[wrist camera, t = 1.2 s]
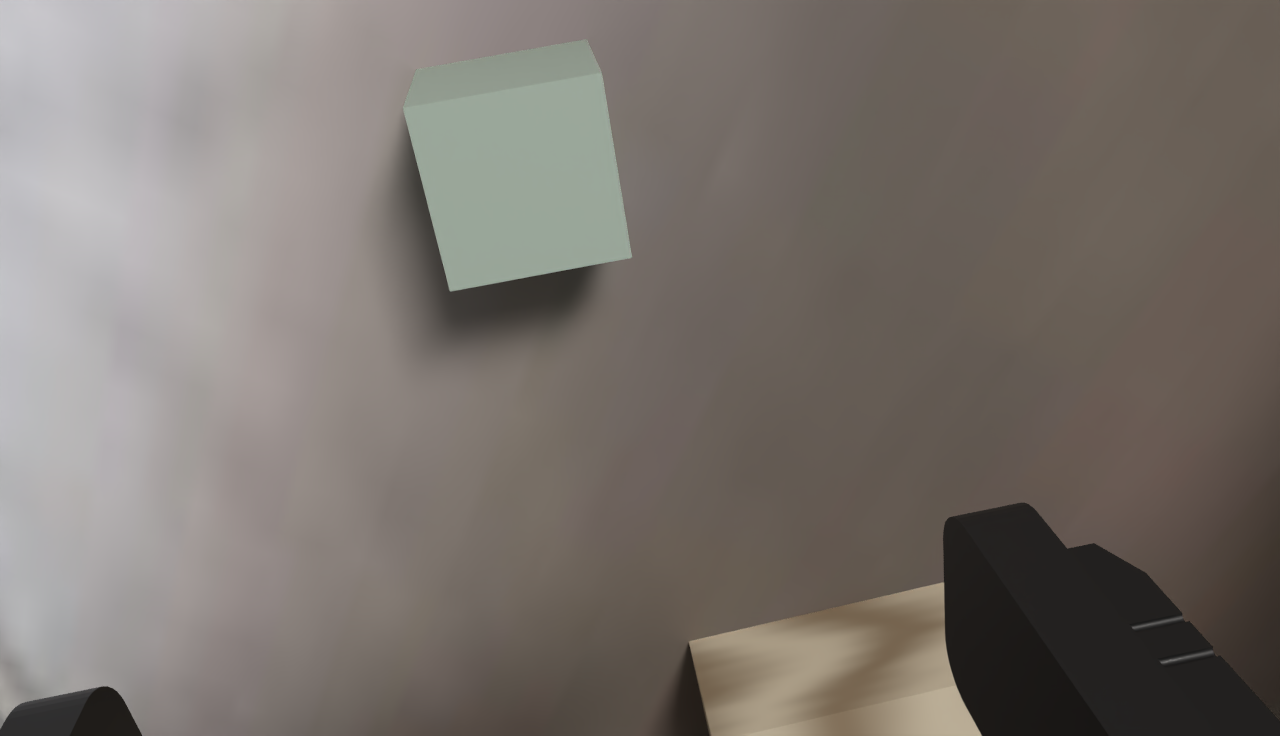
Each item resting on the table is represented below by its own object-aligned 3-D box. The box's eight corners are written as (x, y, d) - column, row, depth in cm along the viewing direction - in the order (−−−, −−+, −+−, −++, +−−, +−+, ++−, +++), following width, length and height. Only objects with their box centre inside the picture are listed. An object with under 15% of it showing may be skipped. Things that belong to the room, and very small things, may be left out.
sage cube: (586, 38, 27) (601, 72, 23) (613, 201, 29) (631, 257, 25) (416, 69, 27) (403, 108, 23) (456, 229, 29) (450, 291, 25)
